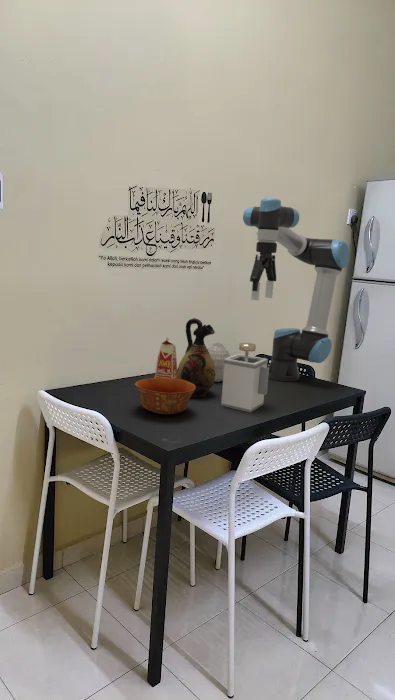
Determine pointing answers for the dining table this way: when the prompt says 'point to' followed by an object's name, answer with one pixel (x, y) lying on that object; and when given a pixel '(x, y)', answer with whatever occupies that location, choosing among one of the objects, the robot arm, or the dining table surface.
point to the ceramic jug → (197, 360)
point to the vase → (218, 359)
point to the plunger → (247, 349)
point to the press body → (244, 382)
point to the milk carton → (167, 361)
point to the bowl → (165, 394)
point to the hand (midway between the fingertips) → (261, 298)
